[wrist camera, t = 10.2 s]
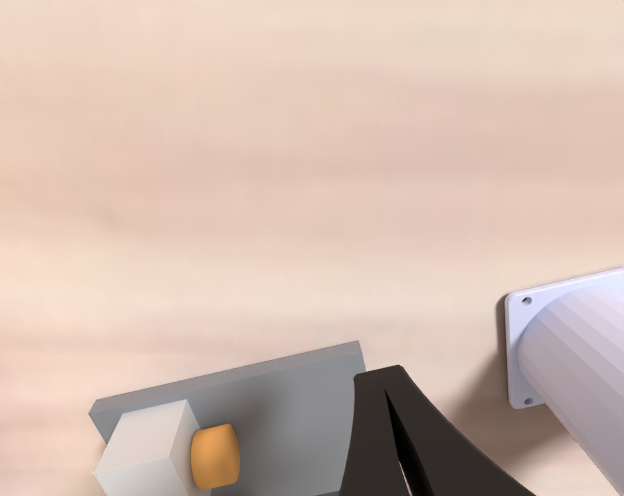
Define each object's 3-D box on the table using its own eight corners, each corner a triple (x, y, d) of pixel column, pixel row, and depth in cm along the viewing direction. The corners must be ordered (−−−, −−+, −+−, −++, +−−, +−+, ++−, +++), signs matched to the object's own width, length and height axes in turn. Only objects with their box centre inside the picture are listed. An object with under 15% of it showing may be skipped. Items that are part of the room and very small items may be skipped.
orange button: (226, 412, 21) (218, 457, 19) (242, 448, 23) (236, 496, 20) (198, 418, 22) (186, 464, 19) (214, 454, 23) (205, 502, 20)
